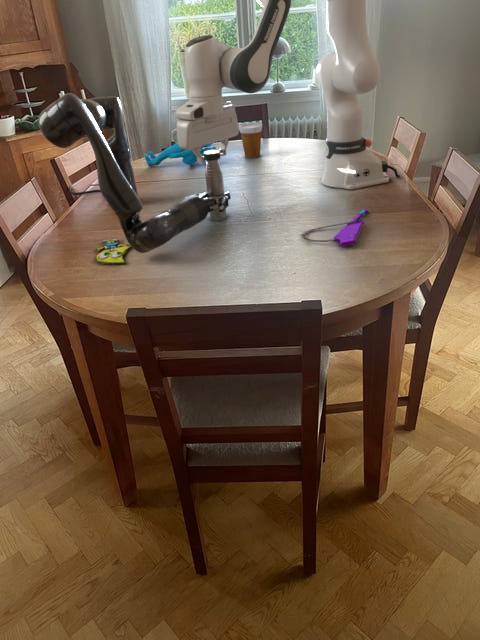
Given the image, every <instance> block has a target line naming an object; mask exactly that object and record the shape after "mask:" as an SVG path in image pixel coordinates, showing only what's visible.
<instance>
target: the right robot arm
mask: <svg viewBox="0 0 480 640" xmlns="http://www.w3.org/2000/svg"><path fill="white" fill-rule="evenodd" d="M255 1H256V2H257V3H258V4H259V5H260V7H261V9H262V11H261V15H260V17H259V19H258V22H257V26H256V28H255V30H254V33H253V36H252V38H251V41H250V42H249V43H248V44H247V45H246V46H244V47H243V48H242V47H241V48H240V47H239V48H238V47H232V46H230V45H227V44H225V43H223V42H221V41H219V40H218V39H216V38H215V37H214V36H213V35H211V34H207V35H202V36H201V35H200V36H197V37H194V38H191V39H190V40H189V41H187V43H186V44H185V47H184V68H185V78H186V80H187V83H188V100H187V101H186V102H184V104H182V105H181V106H180V107H179V108H177V109H176V110H175V113H174V114H175V118H176V119H177V122H176V126H175V127H176V138H177V143H178V145H179V147H180V148H181V149H183V150H192V151H193V153H194V154H195V156H196V157H197V162H196V163H197V164H204V163H206V160H205V156H202V155H201V153H200V151H201V147H202V146H205V145H208V144H211V143H214V144H215V143H218V142H220V147H219V149H217V150H219V151H220V157H225V156H227V148H228V146H229V139H230V138H233V137H237V136H238V135H239V133H240V131H239V130H240V126H239V121H238V116H237V113H236V107H235V104H234V103H233V102H231V101H230V100H229V101H223V88H225V89H231V90H237V91H240V92H243V93H246V94H255V93H258V92H259V91H261V90H262V89H263V88H264V87H265V86H266V84H267V83H268V80H269V78H270V75H271V74H270V73H271V68H272V61H273V57H274V54H275V51H276V48H277V46H278V43H279V40H280V39H281V35H282V32H283V29H284V27H285V26H286V25H285V24H286V21H287V18H288V16H289V13H290V11H291V10H290V9H291V5H292V0H255ZM325 2H326V30H327V34H328V36H329V38H330V39H331V41H332V43H333V47H334V50H335V51H334V52H330V53H328V54H326V55H323V57H321V58H320V60H319V61H318V63H317V65H316V68H315V69H316V70H315V74H316V75H315V76H316V79H317V81H318V83H319V85H320V87H321V89H322V90H321V91H322V94H323V98H324V103H325V108H326V109H325V110H326V118H327V123H326V125H327V126H326V127H327V129H326V130H327V132H326V139H325V145H324V154H325V155H324V156H325V164H324V170H323V175H322V178H321V183H322V185H324V186H327V187H330V188H338V189H339V188H341V189H346V190H356V189H361V188H366V187H371V186H376V185H380V184H385V183H389V182H390V176H389V175H388V174H387V173H388V169H390V170H391V171H393V172H394V175H395V177H396V178H397V179H399V178H400V177H401V175H400V174H398V170H397V169H396V168H395V167H394V166H392V165H389V164H388V162H387V161H386V160H381V159H380V158H379V157H377V156H376V155H375V154H373V152H371V151H370V150H368V148H370V147H371V146H373V141H372V140H371V139H368V138H367V139H366V138H364V137H363V136H362V134H363V118H364V114H363V110H362V107H361V106H360V104H359V101H358V97H357V96H358V95H363V94H368V93H370V92H371V91H373V90H374V89H375V88H376V87H377V85H378V84H379V81H380V78H381V73H382V71H381V65H380V63H379V61H378V59H376V57H375V55H374V53H373V50H372V47H371V42H370V39H369V34H368V28H367V27H368V26H367V0H325Z"/></svg>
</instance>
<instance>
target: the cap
mask: <svg viewBox="0 0 480 640" xmlns="http://www.w3.org/2000/svg"><path fill="white" fill-rule="evenodd" d="M203 155H204V156H205V161H206V162H207V161H213V160H218V161H219V160H220V159H221V156H220V151H219V150H218V149H216V150H209V151H205V152H204V154H203Z"/></svg>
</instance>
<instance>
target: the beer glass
mask: <svg viewBox="0 0 480 640" xmlns="http://www.w3.org/2000/svg"><path fill="white" fill-rule="evenodd" d="M262 131H263V126H262V124H261V123H245V124H241V125H239V133H240V137H241V142H242V147H243V152H244V157H245V158H248V159H249V158H251V159H252V158H253V159H254V158H258V157H260V156H261V144H262Z"/></svg>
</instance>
